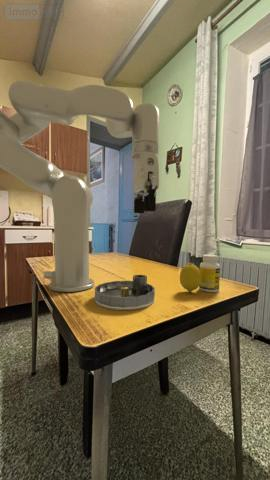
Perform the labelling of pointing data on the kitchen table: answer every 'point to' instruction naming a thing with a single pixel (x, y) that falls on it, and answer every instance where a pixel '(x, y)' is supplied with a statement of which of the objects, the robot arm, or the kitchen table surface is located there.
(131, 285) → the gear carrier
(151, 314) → the kitchen table surface
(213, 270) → the supplement bottle
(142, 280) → the gear
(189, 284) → the lemon
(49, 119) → the robot arm
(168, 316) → the kitchen table surface
